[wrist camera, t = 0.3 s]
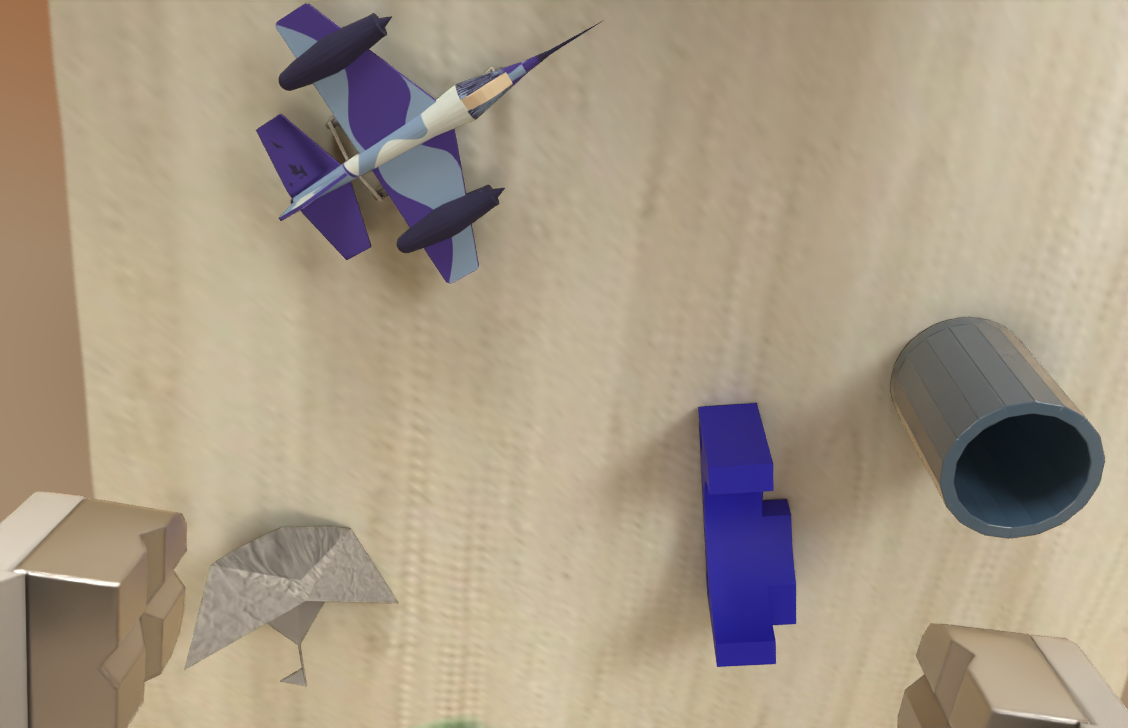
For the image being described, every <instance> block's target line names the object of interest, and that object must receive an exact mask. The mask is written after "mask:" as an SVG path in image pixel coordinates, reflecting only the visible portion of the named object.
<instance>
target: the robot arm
mask: <svg viewBox="0 0 1128 728" xmlns="http://www.w3.org/2000/svg"><path fill="white" fill-rule="evenodd" d="M186 551H187V523H186V521H185V518H184V516H183V514H182V513H178V512H172V511H166V510H159V509H153V508H147V507H141V506H135V505H129V504H123V503H117V502H111V501H105V500H98V499H88V498H87V497H85V496H77V495H68V494H59V493H52V492H35V493H33V494H32V495H31V496H30V497H29V498H28V499H26V500H25V501H24V502H23V503H22V504H21V505H20V506H19V507H18V508H17V509H15V510H14V511H13V512H12V513H11V514H10V515H9V516H8V517H7V518H5V519H4V520H3V521H2V522H1V523H0V728H127V727H128V726H129V724H130V723H131V721H132V720H133V718H134V716H135V715H136V713H137V712H138V710H139V708H140V707H141V705H142V704H143V702H144V682H146V681H148V680H150V679H152V678H154V677H156V676H158V675H160V674H161V673H162V671H163V670H164V668H165V666H166V664H167V663H168V661H169V659H170V658H171V656H172V653H173V650H174V647H175V644H176V642H177V639H178V636H179V633H180V630H181V624H182V618H183V612H184V602H185V586H184V585H183V583H182V582H181V581H180V579H179V578H178V576H177V575H176V573H175V572H174V569H175V567H176V566H177V564H178V563H179V561H180V560H181V558H182V557H183V556H184V554H185V553H186ZM916 657H917V659H918V661H919V664H920V666H921V668H922V670H923V673H924V675H923V676H922V677H921V678H919V679H918V680H917V681H916V682H914V683H913V684H912V685H911V686H909V687H908V688H907V689H906V690H905V692H904V696H903V699H902V703H901V707H900V710H899V714H898V725H897V728H1128V710H1127V709H1126V707H1125V706H1124V705H1123V703H1122V702H1121V701H1120V699H1119V698H1118V697H1117V695H1116V694H1115V693H1114V692H1113V690H1112V689H1111V688H1110V686H1109V685H1108V684H1107V682H1106V681H1105V680H1104V679H1103V677H1102V676H1101V675H1100V673H1099V672H1098V671H1097V669H1096V668H1095V667H1094V666H1093V664H1092V663H1091V662H1090V660H1089V659H1088V658H1087V656H1086V655H1085V654H1084V653H1083V651H1082V650H1081V649H1080V647H1079V646H1078V645H1077V644H1076V643H1074V642H1072V641H1070V640H1068V639H1066V638H1059V637H1049V636H1039V635H1029V634H1023V633H1015V632H1006V631H998V630H990V629H981V628H973V627H964V626H956V625H948V624H930V625H929V627H928V628H927V630H926V631H925V633H924V634H923V636H922V639H921V642H920V645H919V648H918V651H917V654H916Z"/></svg>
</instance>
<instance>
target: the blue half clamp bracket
mask: <svg viewBox="0 0 1128 728" xmlns="http://www.w3.org/2000/svg"><path fill="white" fill-rule="evenodd" d="M698 412H699V433H700V454H701V474H702V495H703V515H704V536H705V557H706V577H707V595H708V602H709V610H710V617H711V625H712V632H713V640H714V647H715V655H716V662H717V667H723V666H744V665H764V664H776V641H775V636H774V630H773V625H785V624H796V580H795V571H794V560H793V548H792V528H791V512H790V509H789V505H788V502H787V499H782V500H766V501H762V498H763V491H773V461H772V458H771V454H770V450H769V447H768V443H767V439H766V436H765V432H764V428H763V424H762V421H761V417H760V413H759V410H758V406H757V403H749V404H734V405H719V406H704V407H698Z"/></svg>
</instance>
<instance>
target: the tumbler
mask: <svg viewBox="0 0 1128 728" xmlns="http://www.w3.org/2000/svg"><path fill="white" fill-rule="evenodd" d="M891 395H892V400H893V403H894V405H895V408H896V410H897V412H898V415H899V417H900V419H901V421H902V423H903V425H904V427H905V429H906V431H907V433H908V434H909V436H910V438H911V440H912V442H913V444H914V446H915V448H916V450H917V452H918V454H919V456H920V457H921V459H922V461H923V463H924V465H925V467H926V469H927V471H928V473H929V475H930V477H931V478H932V480H933V482H934V484H935V486H936V488H937V490H938V492H939V494H940V496H941V498H942V500H943V501H944V503H945V505H946V507H947V508H948V509H949V511H950V512H951V513H952V514H953V515H954V516H955V517H956V519H957V520H958V521H959V522H960V523H962V524H963V525H965V526H967V527H969V528H971V529H973V530H975V531H977V532H979V533H981V534H983V535H987V536H994V537H1001V538H1008V539H1009V538H1018V537H1025V536H1032V535H1037V534H1040V533H1043V532H1045V531H1047V530H1049V529H1052V528H1054V527H1056V526H1059V525H1061V524H1063V523H1064V522H1066V521H1067V520H1068V519H1070V518H1071V517H1072V516H1073V515H1075V514H1076V513H1077V512H1078V511H1079V510H1081V509H1082V508H1083V507H1084V505H1086V504H1087V503H1088V501H1089V500H1090V498H1091V497H1092V495H1093V494H1094V492H1095V491H1096V489H1097V487H1098V486H1099V483H1100V481H1101V476H1102V472H1103V468H1104V463H1105V456H1104V451H1103V446H1102V441H1101V437H1100V435H1099V434H1098V432H1097V431H1096V430H1095V428H1094V427H1093V426H1092V425H1091V423H1090V422H1089V421H1088V419H1087V418H1086V417H1085V416H1084V415H1083V413H1082V412H1081V411H1080V410H1079V409H1078V408H1077V406H1076V405H1075V404H1074V403H1073V402H1072V401H1071V399H1070V398H1069V397H1068V396H1067V395H1066V394H1065V392H1064V391H1063V390H1062V389H1061V388H1060V387H1059V385H1058V384H1057V383H1056V382H1055V381H1054V380H1053V378H1052V377H1051V376H1050V375H1049V374H1048V373H1047V371H1046V370H1045V369H1044V368H1043V367H1042V366H1041V364H1040V363H1039V362H1038V361H1037V360H1036V359H1035V357H1034V356H1033V355H1032V354H1031V353H1030V352H1029V350H1028V349H1027V348H1026V347H1025V346H1024V345H1023V343H1022V342H1021V341H1020V340H1019V339H1018V338H1017V337H1016V336H1015V335H1014V334H1013V333H1012V332H1011V331H1009V330H1008V329H1007V328H1005V327H1004V326H1002V325H1000V324H998V323H996V322H993V321H990V320H986V319H982V318H972V317H968V318H957V319H951V320H947V321H944V322H941V323H938V324H936V325H934V326H932V327H930V328H928V329H926V330H925V331H923V332H922V333H920V334H919V335H917V336H916V337H915V338H914V339H913V340H912V341H911V342H910V343H909V344H908V345H907V346H906V347H905V348H904V350H903V351H902V353H901V354H900V356H899V358H898V359H897V361H896V363H895V366H894V369H893V372H892V376H891Z"/></svg>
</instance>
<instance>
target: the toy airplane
mask: <svg viewBox="0 0 1128 728" xmlns="http://www.w3.org/2000/svg"><path fill="white" fill-rule="evenodd" d="M391 18H392V16H391V17H385V18H378V16H377V15H376V14H374V13H373V14H371V15H369V16H368V17H365V18H363V19H361V20H359V21H356V22H354V23H352V24H350V25H348V26H345V27H343V28H340V27H339V26H338V25H336V24H335V23H334V22H332V21H331V20H330V19H328V18H327V17H326V16H324V15H323V14H322V13H320V12H319V11H318V10H316V9H315V8H314V7H313V6H311V5H310V4H304V5H302V6H301V7H299V8H297V9H296V10H294V11H293V12H291V13H290V14H288V15H287V16H285V17H284V18H282V19H280V20H279V21H277V23H276V28H277V30H278V32H279V33H280V35H281V36H282V38H283V39H284V41H285V42H286V44H287V45H288V47H289V48H290V50H291V51H292V53H293V54H294V56H295V57H296V60H295V61H293V62H292V63H291V64H290V65H289V66H288V67H287V68H286V69H285V70H284V71H283V72H282V73H281V74H280V76H279V84H280V86H281V87H282V88H283V89H285V90H289V91H291V90H294V89H297V88H300V87H304V86H307V85H310V84H312V83H313V84H314V86H315V87H316V89H317V90H318V92H319V94H320V95H321V97H322V98H323V100H324V101H325V103H326V104H327V106H328V107H329V109H330V110H331V112H332V113H333V115H334V116H333V117H332V118H330V119H329V120H328V121H327V122H326V123H325V126H326V128H327V129H329V130H331V131H332V133H333V135H334V137H335V139H336V142H337V144H338V146H339V148H340V150H341V152H342V154H343V156H344V158H345V160H346V162H344V163H343V164H342V165H340V163H339V162H337V161H336V160H335V159H334V158H333V157H332V156H330V155H329V154H328V153H327V152H326V151H324V150H323V149H322V148H321V147H320V146H319V145H317V144H316V143H315V142H314V141H313V140H312V139H310V138H309V137H308V136H307V135H306V134H304V133H303V132H302V131H301V130H300V129H299V128H297V127H296V126H295V125H294V124H293V123H292V122H290V121H289V120H288V119H287V118H286V117H285V116H283V115H282V114H279V115H278V116H276V117H275V118H273V119H272V120H270V121H269V122H267V123H266V124H264V125H263V126H261V127H260V128H258V129H257V130H256V131H257V133H258V135H259V137H260V139H261V141H262V143H263V145H264V147H265V149H266V151H267V153H268V155H269V157H270V159H271V161H272V163H273V165H274V167H275V169H276V171H277V173H278V175H279V177H280V178H281V180H282V182H283V184H284V186H285V188H286V190H287V192H288V193H289V195H290V196H291V198H292V199H291V205H290V206H289V207H288V208H287V209H286V210H285V211H284V213H283V214H282V215H281V216H280V217H279V219H280V221H282V220H284V219H286V218H287V217H289V216H291V215H293V214H294V213H296V212H298V211H299V210H301V212H302V213H303V214H304V215H305V216H306V217H307V218H308V219H309V221H310V222H311V223H312V224H313V225H314V226H315V227H316V228H317V229H318V230H319V231H320V232H321V233H322V235H323V236H324V237H325V238H326V239H327V240H328V241H329V242H330V243H331V244H332V245H333V246H334V247H335V248H336V250H337V251H338V252H339V253H340V254H341V255H342V256H343V257H344V258H345V259H346V260H348V259H350V258H352V257H354V256H356V255H358V254H359V253H361V252H363V251H365V250H367V249H369V248H371V243H370V240H369V237H368V234H367V230H366V227H365V224H364V221H363V218H362V215H361V212H360V208H359V205H358V202H357V199H356V196H355V193H354V190H353V186H352V183H351V181H352V180H354V179H356V178H359V179H360V180H361V181H362V183H363V184H364V185H365V186H366V187H367V188H368V189H369V190H370V191H371V192H372V193H373V194H372V195H373V198H374V199H375V200H379V201H380V202H382V201H383V199H384V198H385V196H387V195H389V196H390V198H391V199H392V201H393V203H394V204H395V206H396V207H397V209H398V210H399V212H400V213H401V215H402V216H403V218H404V219H405V221H406V222H407V224H408V225H409V227H410V228H409V229H408V230H407V231H406V232H405V233H404V234H403V235H401V236H400V237H399V238H398V240H397V247H398V249H399V250H400V251H401V252H403V253H409V252H413V251H416V250H419V249H422V248H424V249H425V251H426V252H427V254H428V255H429V257H430V258H431V260H432V261H433V263H434V264H435V266H436V267H437V269H438V270H439V272H440V273H441V275H442V277H443V278H444V280H445V281H446V282H447V283H453V282H455V281H457V280H459V279H461V278H463V277H464V276H466V275H468V274H470V273H472V272H474V271H475V270H477V269H478V267H479V263H478V258H477V252H476V246H475V241H474V235H473V229H472V223H474V222H475V221H476V220H478V219H479V218H480V217H482V216H483V215H484V214H486V213H487V212H488V211H490V210H491V209H492V208H494V207H495V206H497V205H499V200H498V197H499V195H500V194H501V193H502V191H503V190H504V189H505V188H498V189H492V187H491V186H490V185H486V186H484V187H482V188H479V189H477V190H474V191H472V192H469V193H467V194H466V190H465V184H464V179H463V173H462V167H461V162H460V156H459V151H458V145H457V139H456V134H455V128H457V127H459V126H461V125H464V124H466V123H469V122H471V121H473V120H476V119H477V118H478V117H479V116H480V115H482V114H483V113H484V112H485V111H486V110H487V109H488V108H489V107H490V106H491V105H493V104H494V103H495V102H496V101H497V100H498V99H499V98H500V97H501V96H502V95H504V94H505V93H506V92H507V91H508V90H509V89H510V88H511V87H512V86H514V85H515V84H516V83H517V82H518V81H519V80H520V79H521V78H522V77H523V76H524V75H526V74H527V73H528V72H529V71H530V70H532V69H533V68H534V67H535V66H537V65H538V64H539V63H541V62H542V61H543V60H544V59H545V58H547V57H548V56H549V55H550V54H552V53H553V52H555V51H556V50H558V49H560V48H561V47H563V46H564V45H566V44H567V43H569V42H571V41H572V40H574V39H575V38H577V37H579V36H580V35H582V34H583V33H585V32H586V31H588V30H590V29H591V28H593V27H594V26H596V25H597V24H596V25H594V26H592V27H591V28H589V29H587V30H585V31H583V32H582V33H580V34H578V35H576V36H574V37H572V38H571V39H569V40H567V41H565V42H563V43H562V44H560V45H558V46H556V47H554V48H552V49H551V50H549V51H546V52H544V53H541V54H539V55H536V56H534V57H532V58H529V59H527V60H525V61H522V62H520V63H517V64H514V65H511V66H508V67H505V68H503V67H500V68H497V69H496V70H494V68H493V67H490V68H489V69H488V70H487V71H486V72H485V73H484V74H483V75H481V76H478V77H476V78H473V79H470V80H467V81H464V82H461V83H458V84H456V85H454V86H453V87H452V88H451V89H449V90H448V91H447V92H446V93H444V94H443V95H442V96H441V97H439V98H438V99H437V100H435V99H434V98H433V97H431V96H430V95H429V94H427V93H426V92H425V91H424V90H422V89H421V88H420V87H418V86H417V85H416V84H414V83H413V82H412V81H410V80H409V79H408V78H406V77H405V76H404V75H402V74H401V73H400V72H398V71H397V70H396V69H394V68H393V67H392V66H390V65H389V64H388V63H387V62H385V61H384V60H383V59H381V58H380V57H379V56H377V55H376V54H375V53H373V52H372V51H371V50H369V49H370V48H371V47H372V46H373V45H374V44H376V43H377V42H378V41H379V40H380V39H381V38H383V37H384V36H386V35H387V32H386V29H385V26H386V25H387V23H388V22H389V20H390V19H391ZM603 21H604V20H603ZM600 23H601V22H600ZM598 24H599V23H598ZM490 71H491V72H490ZM488 72H490V73H488ZM339 125H341V127H342V128H343V130H344V131H345V133H346V134H347V136H348V137H349V139H350V140H351V142H352V143H353V145H354V146H355V148H356V149H357V151H358V152H359V153H358V154H357V155H355V156H353V157H352V158H350V159H349V158H348V156H347V154H346V152H345V149H344V147H343V145H342V143H341V141H340V139H339V137H338V135H337V133H336V131H335V129H334V128H336V127H337V126H339ZM371 170H372V171H373V172H374V174H375V175H376V177H377V178H378V180H379V181H380V183H381V184H382V186H381V187H379V188H377V189H376V190H374V189H373V188H372V187H371V186H370V185H369V184H368V182H367V181H366V180H365V179H364V178H363V177H362V175H363V174H365V173H367V172H369V171H371Z"/></svg>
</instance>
